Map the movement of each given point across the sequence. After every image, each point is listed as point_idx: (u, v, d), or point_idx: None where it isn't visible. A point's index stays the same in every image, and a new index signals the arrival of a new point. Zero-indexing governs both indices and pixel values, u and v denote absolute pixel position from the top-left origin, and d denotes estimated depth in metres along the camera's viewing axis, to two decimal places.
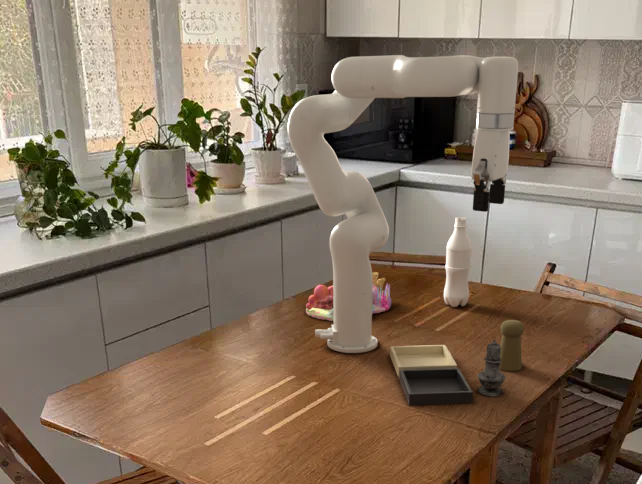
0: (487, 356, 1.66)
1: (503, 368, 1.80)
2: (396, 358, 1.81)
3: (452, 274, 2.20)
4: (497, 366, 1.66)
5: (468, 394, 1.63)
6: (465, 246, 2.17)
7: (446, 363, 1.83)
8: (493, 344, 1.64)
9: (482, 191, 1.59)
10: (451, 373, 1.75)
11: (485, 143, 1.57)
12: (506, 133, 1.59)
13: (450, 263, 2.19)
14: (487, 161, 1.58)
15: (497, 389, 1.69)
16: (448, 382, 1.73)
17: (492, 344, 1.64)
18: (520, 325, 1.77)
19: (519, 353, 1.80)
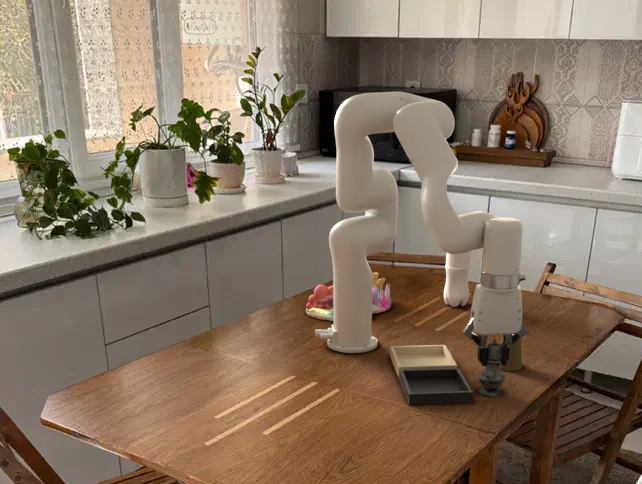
0: (487, 356, 1.66)
1: (503, 368, 1.80)
2: (396, 358, 1.81)
3: (452, 274, 2.20)
4: (497, 366, 1.66)
5: (468, 394, 1.63)
6: None
7: (446, 363, 1.83)
8: (493, 344, 1.64)
9: (479, 346, 1.64)
10: (451, 373, 1.75)
11: (475, 297, 1.61)
12: (503, 293, 1.58)
13: (450, 263, 2.19)
14: (474, 315, 1.61)
15: (497, 389, 1.69)
16: (448, 382, 1.73)
17: (492, 344, 1.64)
18: None
19: (519, 353, 1.80)
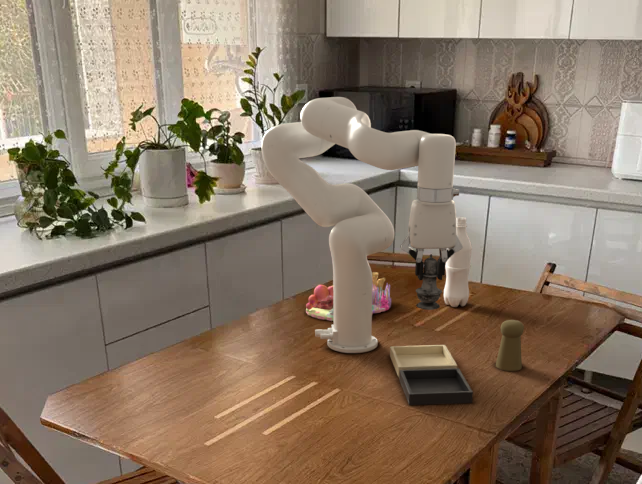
0: (424, 271, 1.73)
1: (503, 368, 1.80)
2: (396, 358, 1.81)
3: (452, 274, 2.20)
4: (434, 280, 1.73)
5: (468, 394, 1.63)
6: (465, 246, 2.17)
7: (446, 363, 1.83)
8: (429, 259, 1.72)
9: (416, 261, 1.72)
10: (451, 373, 1.75)
11: (411, 212, 1.68)
12: (437, 207, 1.65)
13: (450, 263, 2.19)
14: (410, 229, 1.68)
15: (434, 304, 1.76)
16: (448, 382, 1.73)
17: (429, 259, 1.72)
18: (520, 325, 1.77)
19: (519, 353, 1.80)
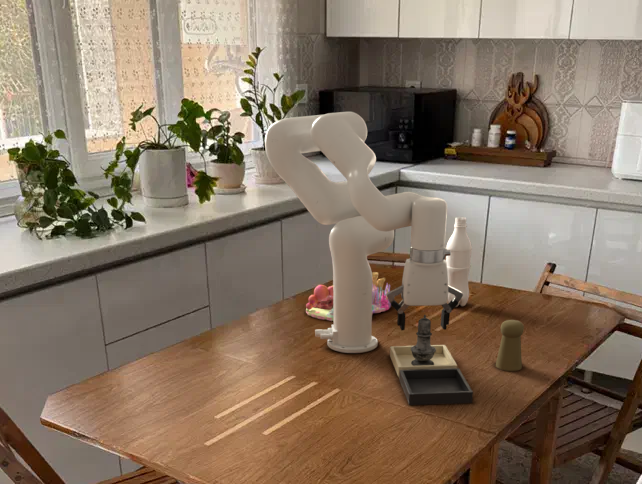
0: (418, 330, 1.79)
1: (503, 368, 1.80)
2: (396, 358, 1.81)
3: (452, 274, 2.20)
4: (427, 340, 1.79)
5: (468, 394, 1.63)
6: (465, 246, 2.17)
7: (446, 363, 1.83)
8: (423, 319, 1.78)
9: None
10: (451, 373, 1.75)
11: (404, 271, 1.74)
12: (430, 267, 1.71)
13: (450, 263, 2.19)
14: (403, 287, 1.75)
15: (429, 361, 1.82)
16: (448, 382, 1.73)
17: (422, 319, 1.78)
18: (520, 325, 1.77)
19: (519, 353, 1.80)
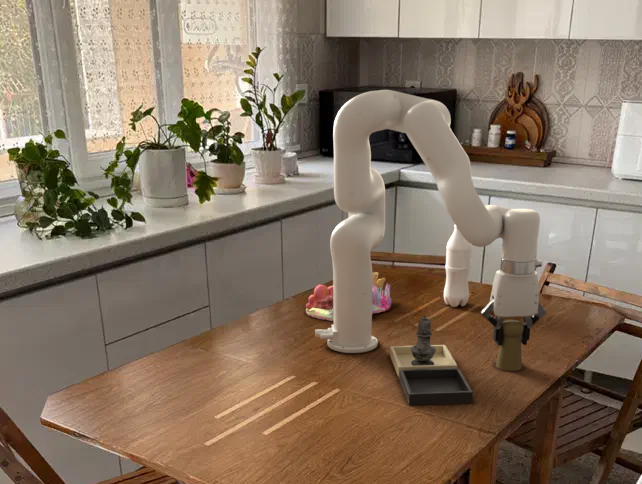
0: (418, 330, 1.79)
1: (503, 368, 1.80)
2: (396, 358, 1.81)
3: (452, 274, 2.20)
4: (427, 340, 1.79)
5: (468, 394, 1.63)
6: (465, 246, 2.17)
7: (446, 363, 1.83)
8: (423, 319, 1.78)
9: (495, 327, 1.78)
10: (451, 373, 1.75)
11: (495, 283, 1.74)
12: (521, 278, 1.72)
13: (450, 263, 2.19)
14: (494, 298, 1.75)
15: (429, 361, 1.82)
16: (448, 382, 1.73)
17: (422, 319, 1.78)
18: (520, 325, 1.77)
19: (519, 353, 1.80)
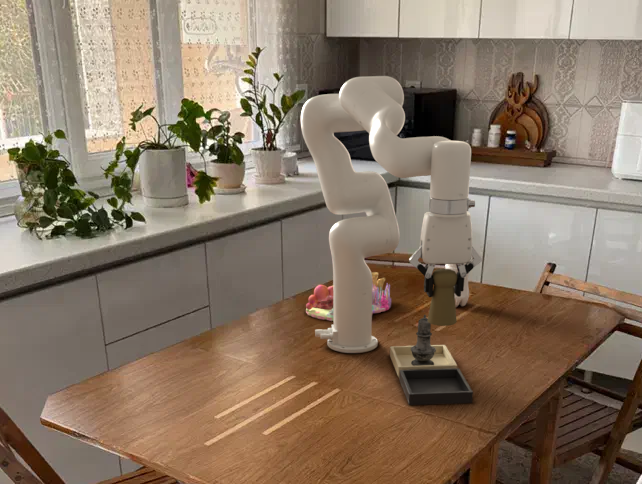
0: (418, 330, 1.79)
1: (435, 323, 1.61)
2: (396, 358, 1.81)
3: None
4: (427, 340, 1.79)
5: (468, 394, 1.63)
6: None
7: (446, 363, 1.83)
8: (423, 319, 1.78)
9: (425, 276, 1.59)
10: (451, 373, 1.75)
11: (423, 225, 1.55)
12: (452, 219, 1.53)
13: None
14: (422, 243, 1.56)
15: (429, 361, 1.82)
16: (448, 382, 1.73)
17: (422, 319, 1.78)
18: (453, 274, 1.58)
19: (453, 306, 1.61)
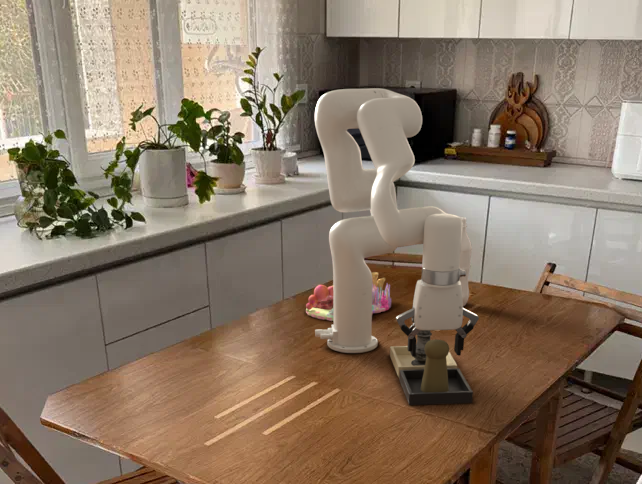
0: None
1: None
2: (396, 358, 1.81)
3: None
4: (427, 340, 1.79)
5: (468, 394, 1.63)
6: (465, 246, 2.17)
7: None
8: None
9: (408, 336, 1.64)
10: (451, 373, 1.75)
11: (415, 293, 1.61)
12: (443, 289, 1.58)
13: None
14: (414, 310, 1.61)
15: None
16: (448, 382, 1.73)
17: None
18: (445, 345, 1.64)
19: (445, 376, 1.66)
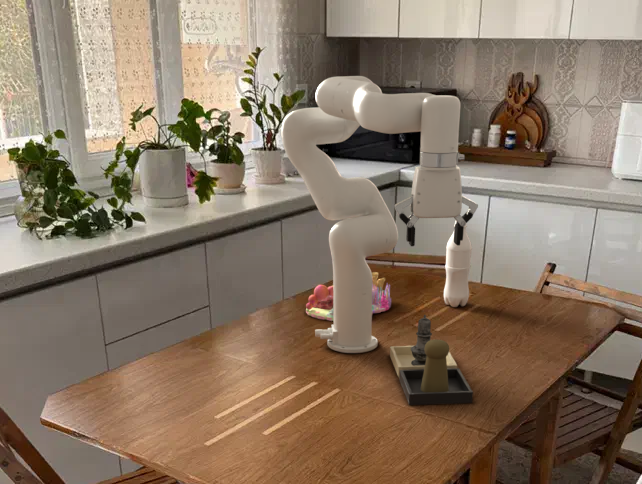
0: (418, 330, 1.79)
1: (428, 391, 1.67)
2: (396, 358, 1.81)
3: (452, 274, 2.20)
4: (427, 340, 1.79)
5: (468, 394, 1.63)
6: (465, 246, 2.17)
7: None
8: (423, 319, 1.78)
9: (407, 225, 1.62)
10: (451, 373, 1.75)
11: (414, 179, 1.59)
12: (442, 173, 1.57)
13: (450, 263, 2.19)
14: (413, 197, 1.60)
15: None
16: (448, 382, 1.73)
17: (422, 319, 1.78)
18: (445, 345, 1.64)
19: (445, 376, 1.66)
